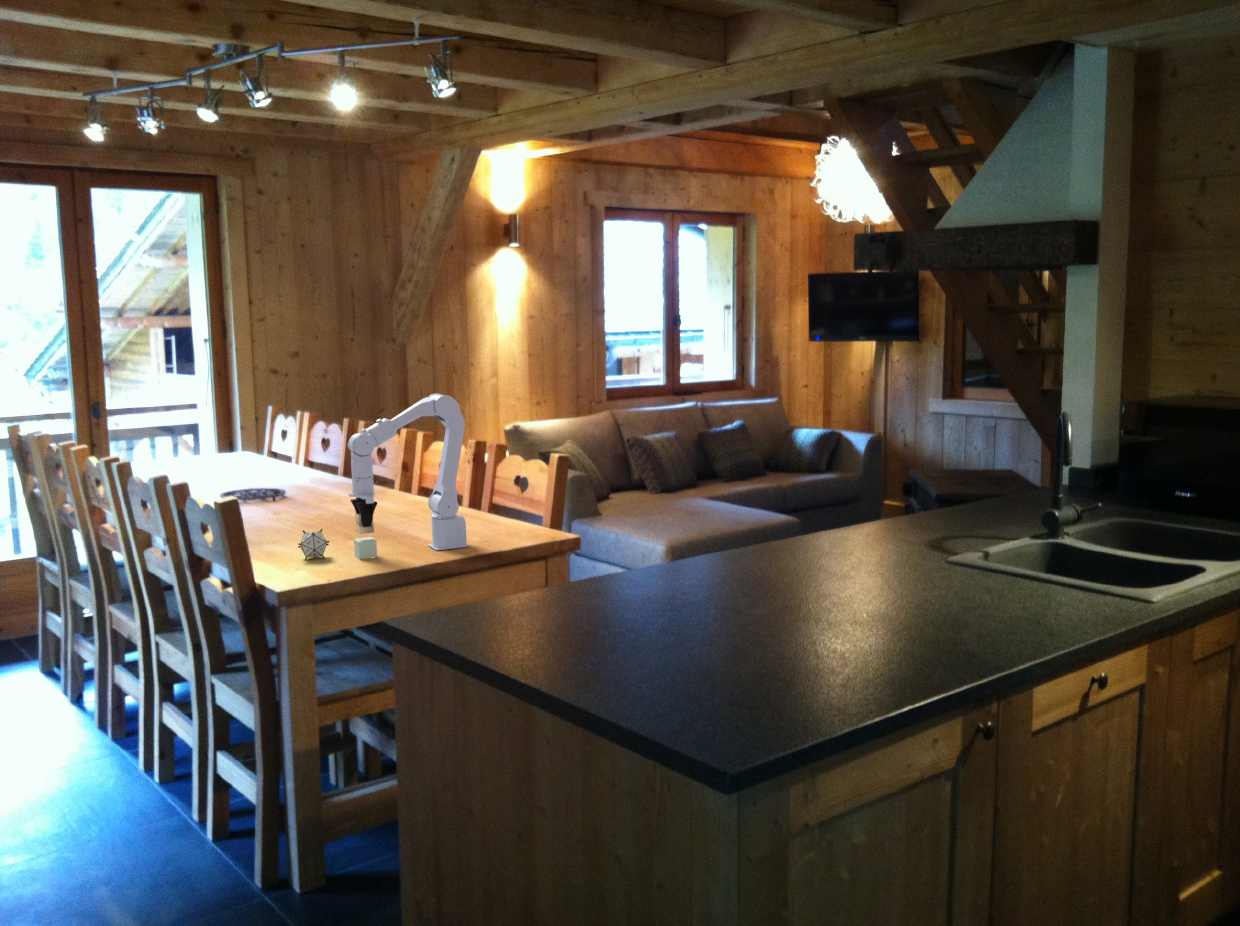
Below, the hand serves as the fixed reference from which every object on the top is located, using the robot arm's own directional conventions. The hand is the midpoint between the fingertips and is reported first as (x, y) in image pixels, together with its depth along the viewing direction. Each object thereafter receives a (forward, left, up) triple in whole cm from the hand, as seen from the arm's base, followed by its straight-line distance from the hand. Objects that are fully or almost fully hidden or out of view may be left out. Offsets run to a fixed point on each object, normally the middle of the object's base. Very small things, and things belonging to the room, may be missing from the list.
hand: (365, 525), depth 302 cm
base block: (0, 0, -9) cm, 9 cm away
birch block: (0, 0, -2) cm, 2 cm away
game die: (+13, -6, -9) cm, 17 cm away
